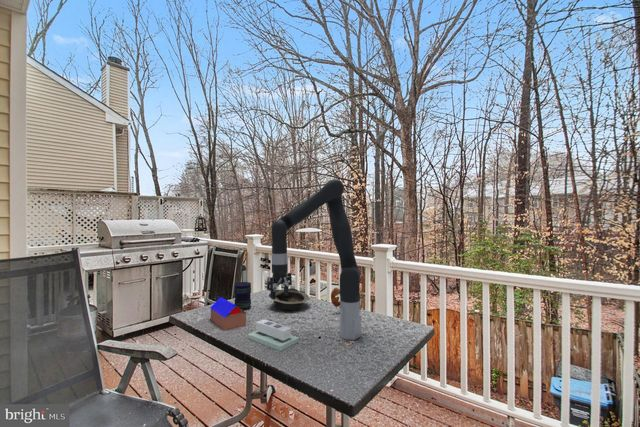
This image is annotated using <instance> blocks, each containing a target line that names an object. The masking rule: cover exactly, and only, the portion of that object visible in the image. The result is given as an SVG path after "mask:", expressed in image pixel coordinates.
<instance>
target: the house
mask: <svg viewBox="0 0 640 427" xmlns="http://www.w3.org/2000/svg"><path fill="white" fill-rule="evenodd" d="M209 309H210V320H211V322H213V323H214V324H215V325H217V326H218V327H220V328H221V329H222V330H224V331H230V330H233V329H237V328H241V327H245V326H247V312H246V311H243V310H242V309H240V308H239V307H238V306H236V305H234V302H233V303H232V302H231V301H229V300H227V299H225V298H224V297H223V296H220V297H219V298H218V299H217V300H216V301H215V302H214V303H213V304H212V305H211V306H210V307H209Z"/></svg>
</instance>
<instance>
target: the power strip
mask: <svg viewBox="0 0 640 427" xmlns="http://www.w3.org/2000/svg"><path fill="white" fill-rule="evenodd" d="M255 331H259V332H261V333H262V334H260V335H262V336H266V335H269V336H272V337H275V338H278V339H280V340H279V341H278V342H281V343H284V342H286V341H287V340H286V339H288V338H290V337H291V335H292V327H289V326H286V325H284V324H280V323H277V322H274V321H270V320H268V319H264V318H263V319H261V320H258V321H256V322H255Z"/></svg>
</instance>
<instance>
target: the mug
mask: <svg viewBox="0 0 640 427" xmlns="http://www.w3.org/2000/svg"><path fill="white" fill-rule="evenodd" d="M338 295H340V288H338V287H334V288H333V289H332V291H331V293H330V300H331V303H332V305H333V306H334V307H335V308H338V307H340V300H339V301H338V300H337V298H336V296H338Z"/></svg>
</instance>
